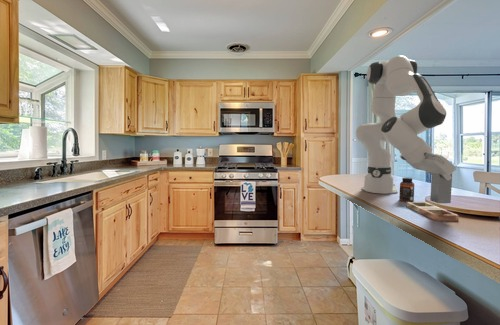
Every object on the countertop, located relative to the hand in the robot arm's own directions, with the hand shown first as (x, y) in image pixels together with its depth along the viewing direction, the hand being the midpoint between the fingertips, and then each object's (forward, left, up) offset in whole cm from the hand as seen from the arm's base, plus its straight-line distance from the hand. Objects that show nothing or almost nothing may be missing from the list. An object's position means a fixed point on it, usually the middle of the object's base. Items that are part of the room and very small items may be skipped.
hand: (443, 177), depth 95 cm
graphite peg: (0, -1, -9) cm, 9 cm away
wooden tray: (-4, -4, -15) cm, 16 cm away
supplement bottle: (-20, -14, -16) cm, 29 cm away
